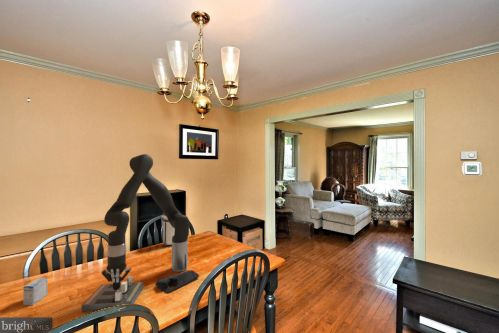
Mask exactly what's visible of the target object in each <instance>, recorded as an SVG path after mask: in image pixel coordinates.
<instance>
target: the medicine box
mask: <svg viewBox="0 0 499 333" xmlns="http://www.w3.org/2000/svg"><path fill="white" fill-rule="evenodd" d="M22 295H23V296H22V297H23V299H22V300H23V303H22V305H23V306H34V305H35V304H37V303H38V302H40V301H41V300H42V299H43V298H45V297H46V296H48V277H38V278H36V279H34V280H33V281H31V282H29V283H28V284H26V285H24V286H23V294H22Z"/></svg>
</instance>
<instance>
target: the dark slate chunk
mask: <svg viewBox="0 0 499 333" xmlns="http://www.w3.org/2000/svg"><path fill="white" fill-rule="evenodd" d="M199 274H200V273H197V272H195V271H194V270H193V269H192V270H189V269H188V270H185V271H182V272H181V273H176V274H175V273H174V274H172V275H169V276H165V277H163V278H159V279H157V280H156V281H155V285H156V286H157V288H158V290H160V291H161V292H163V293H166V294H170V293H171V292H173V291H175V290H178V289H180V288H183V286H186V285H188V284H190V283H191V282H193V281H195V280H196V279H197V278H199V276H200V275H199ZM170 286H171V287H170Z"/></svg>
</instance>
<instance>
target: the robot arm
mask: <svg viewBox="0 0 499 333" xmlns="http://www.w3.org/2000/svg"><path fill="white" fill-rule="evenodd" d="M128 163H129V167H130V170H131V171H132V172H133V174H132V176H131V177H130V178H129V180H128V181H127V182H126V183H125V184H124V186H123V187H122V188H121V190H120V192H119V194H118V196H117V199H116V200H115V202H114V203H113V204H112V205H111V206H110V208H109V209H108V210H107V212H106V213H105V215H104V224H106V226H109V227H116V228H115V230H112V231H110V232H108V238H107V242H108V244H107V252H106V255H107V266H106V268H105V269H103V270H102V271H101V275H102V276H103V277H104V278H105V279H106V280H107V282H109V283H112V284H113V289H114V290H118V289H119V288H120V283H121V282H124V279H125V278H127V277H128V275H129V273H131V271H132V268H131V267H128V265H127V263H126V260H127V258H126V257H127V256H126V255H127V250H126V249H127V247H126V246H127V245H126V234H127V229H128V227H129V223H130V216H129V213H128V212H126V211H124V210H125V209H129V208H131V206H132V204H133V203H134V200H135V198H136V196H137V193H138V191H139V189H140V187H141V186H142V184H143V185H144V187H145V189H146V191H148V192H149V194H150V195H151V198H152V199H153V200H154V201H155V203H156V204H157V206H158V207H159V208H160V209H161V210H162V212H163V213H165V215H166V217H167V218H168V220H169V222H170V224H171V226H172V227H173V228H175V233H174V236H173V237H172V244H171V271H172V272H176V273H179V272H181V273H182V272H185V271H188V270H187V269H188V266H189V259H188V258H189V251H188V242H189V241H188V240H189V239H188V238H189V236H190V219H189V216H187V215H184V214H182V213H181V212H180V211H179V210H178V208H177V207H176V206H175V203H174V200H173V196H172V195H171V192H170V190H169V189H168V187H166V185H165V184H164V183H162V182H161V181H160V180H159V179H157V178H155V177H154V175H152V173H151V172H150V171H151V169H152V168H153V166H154V160H153V158H152V156H151V155H149V154H148V153H147V154H146V153H143V154H139V155H136V156H134V157H131V158H130V159H129V162H128ZM123 272H124V274H123Z"/></svg>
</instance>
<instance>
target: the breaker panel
mask: <svg viewBox="0 0 499 333" xmlns="http://www.w3.org/2000/svg"><path fill="white" fill-rule="evenodd" d="M133 277H134V276H133V275H127V276H126V282H127V291H126V292H125V293H122V290H121V283H122V282H120V288H119V289H118V290H114V289H113V283H105V284H100V285H99V287H98V288H96V289H95V291H94V292H93V293H92V294H91V295H90V296H89V297H88V298H87V299H86V300H85V302H83V303H82V304H81V313H88V312H87V311H91V312H98V311H97V310H101V309H104V308H108V307H113V306H117V305H122V304H135V303H136V301H137V299H138V298H139V296H140V295H141V292H142V291H143V289H144V281H140V282H139V281H137V282H134V281H133Z"/></svg>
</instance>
